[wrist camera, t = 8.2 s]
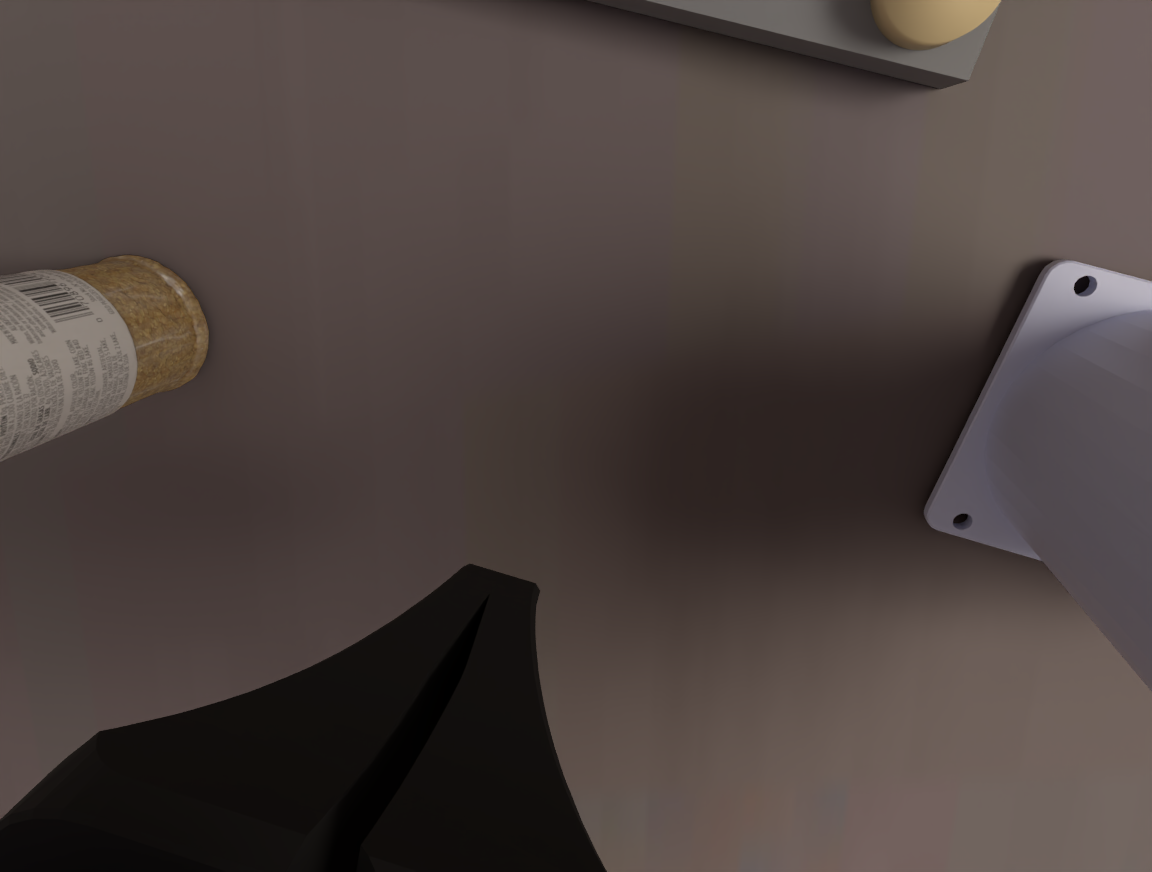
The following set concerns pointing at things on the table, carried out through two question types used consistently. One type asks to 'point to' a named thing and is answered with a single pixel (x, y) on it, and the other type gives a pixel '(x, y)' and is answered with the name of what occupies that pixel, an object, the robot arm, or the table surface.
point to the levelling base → (848, 31)
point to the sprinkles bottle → (91, 345)
